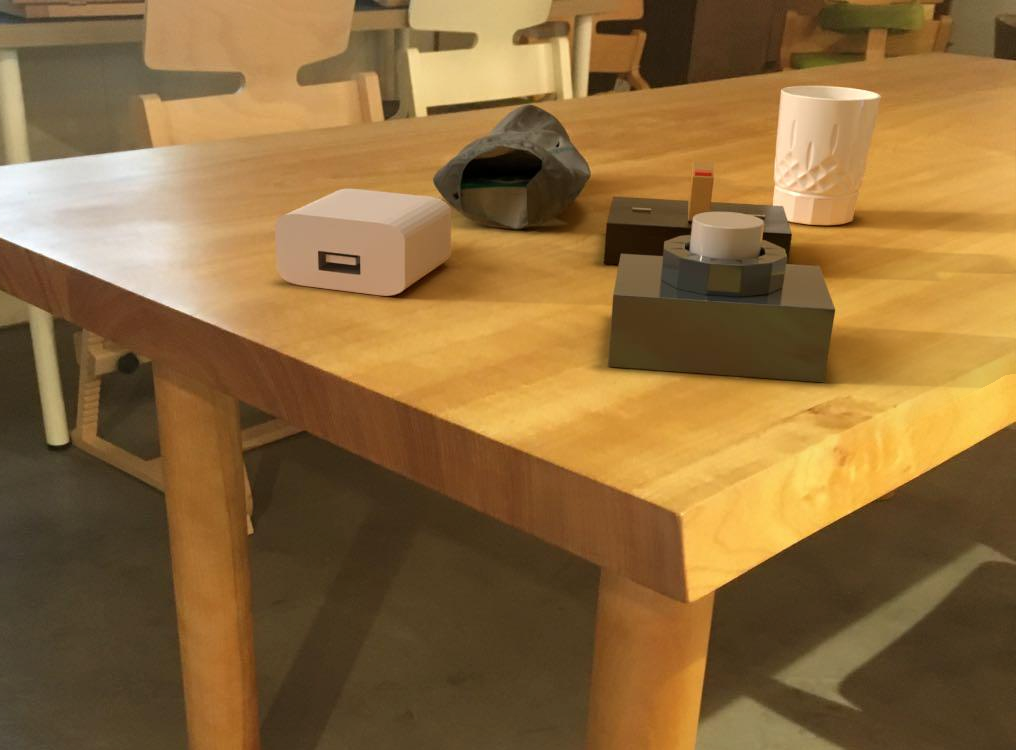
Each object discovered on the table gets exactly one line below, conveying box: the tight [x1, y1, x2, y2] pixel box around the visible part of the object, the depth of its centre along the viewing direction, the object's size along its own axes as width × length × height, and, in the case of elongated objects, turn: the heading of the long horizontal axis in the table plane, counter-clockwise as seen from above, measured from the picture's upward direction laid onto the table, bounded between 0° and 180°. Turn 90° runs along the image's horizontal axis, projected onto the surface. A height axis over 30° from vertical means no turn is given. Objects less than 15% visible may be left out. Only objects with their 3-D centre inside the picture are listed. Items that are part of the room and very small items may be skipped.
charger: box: [274, 188, 452, 297], centre depth 88 cm, size 5×9×15 cm
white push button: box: [689, 212, 764, 260], centre depth 71 cm, size 4×4×2 cm
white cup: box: [772, 85, 882, 226], centre depth 103 cm, size 8×8×10 cm
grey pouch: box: [432, 103, 592, 230], centre depth 107 cm, size 13×7×25 cm
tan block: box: [687, 161, 715, 221], centre depth 91 cm, size 6×2×3 cm, turn 171°
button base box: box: [607, 235, 836, 383], centre depth 72 cm, size 12×9×6 cm
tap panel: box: [603, 196, 793, 266], centre depth 93 cm, size 13×10×3 cm
